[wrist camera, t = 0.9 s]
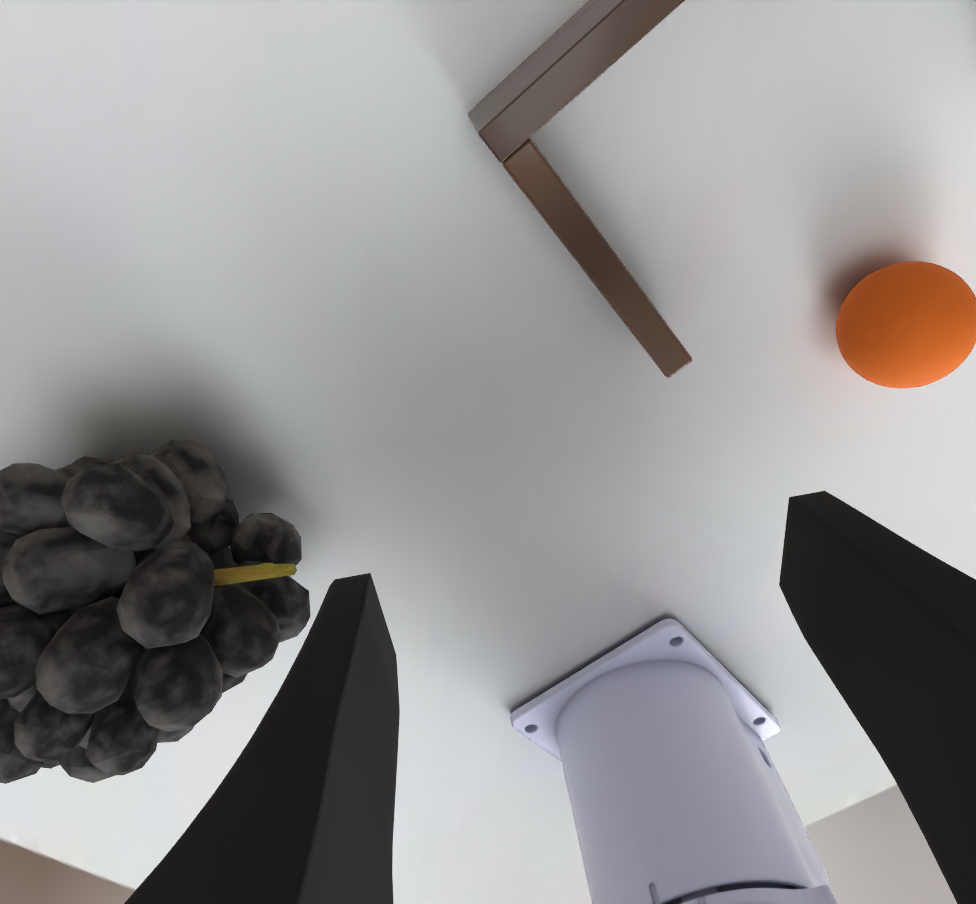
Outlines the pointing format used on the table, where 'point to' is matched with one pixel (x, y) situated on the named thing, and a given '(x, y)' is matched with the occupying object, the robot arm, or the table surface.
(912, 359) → the ball
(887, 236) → the table surface
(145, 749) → the fruit
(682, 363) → the brown u-shaped wall
